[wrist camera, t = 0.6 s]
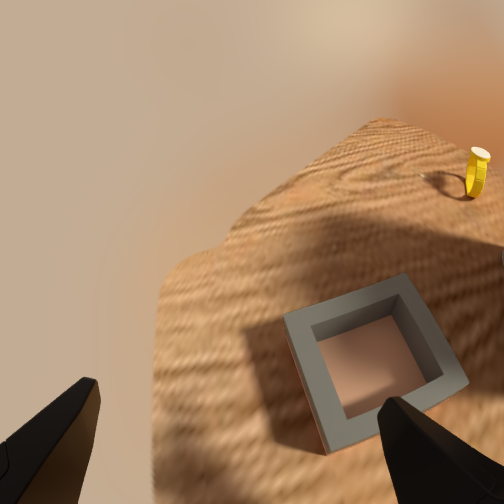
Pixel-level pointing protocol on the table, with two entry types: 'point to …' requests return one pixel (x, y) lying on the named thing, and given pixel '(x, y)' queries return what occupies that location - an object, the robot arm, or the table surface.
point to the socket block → (370, 358)
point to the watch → (476, 171)
